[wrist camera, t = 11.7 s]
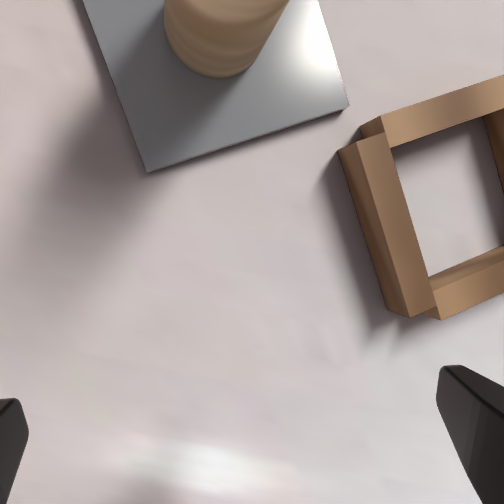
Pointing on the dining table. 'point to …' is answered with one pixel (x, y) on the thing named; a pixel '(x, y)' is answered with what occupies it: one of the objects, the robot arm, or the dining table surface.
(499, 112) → the walnut frame
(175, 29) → the oak peg
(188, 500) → the dining table surface
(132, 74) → the slate pad
